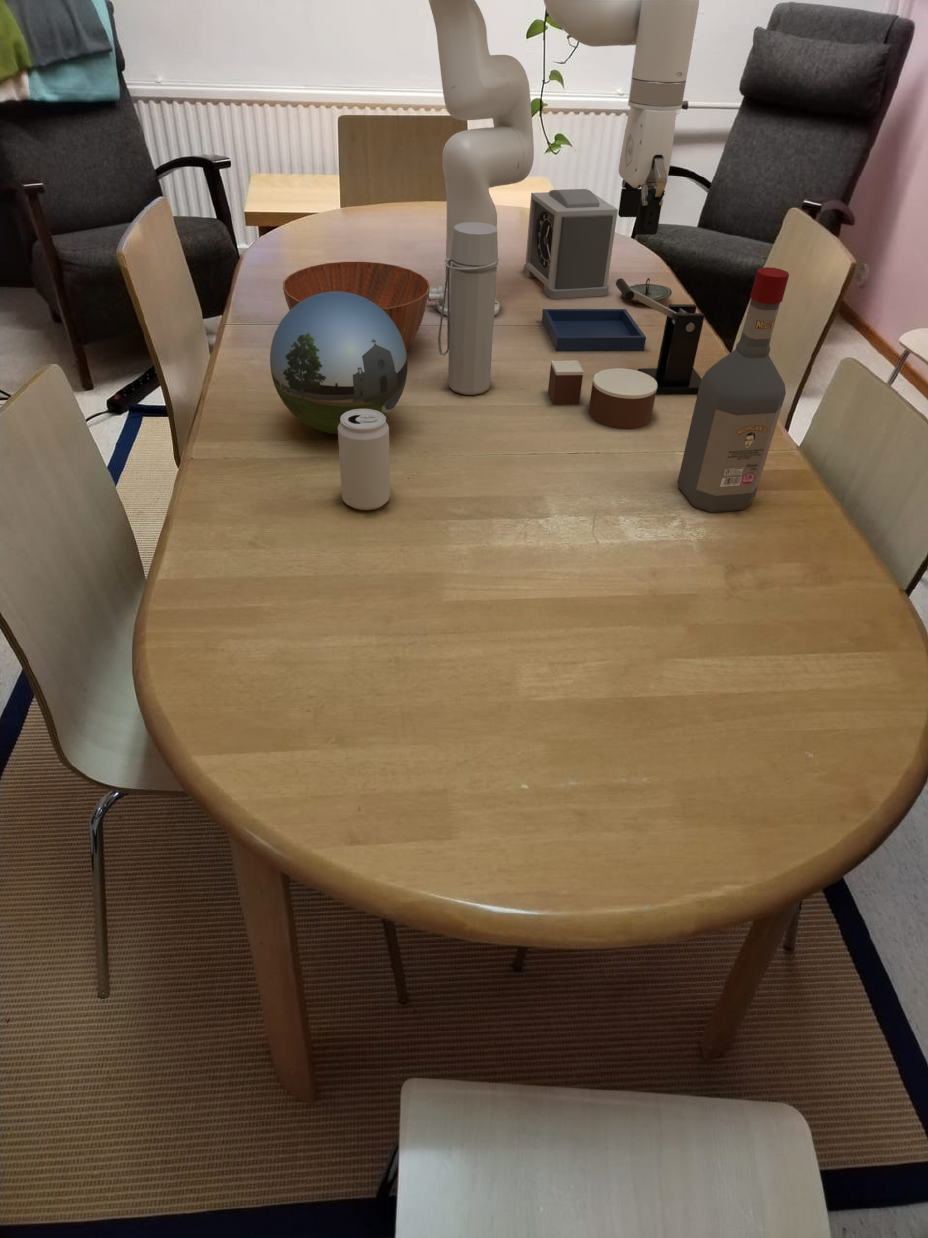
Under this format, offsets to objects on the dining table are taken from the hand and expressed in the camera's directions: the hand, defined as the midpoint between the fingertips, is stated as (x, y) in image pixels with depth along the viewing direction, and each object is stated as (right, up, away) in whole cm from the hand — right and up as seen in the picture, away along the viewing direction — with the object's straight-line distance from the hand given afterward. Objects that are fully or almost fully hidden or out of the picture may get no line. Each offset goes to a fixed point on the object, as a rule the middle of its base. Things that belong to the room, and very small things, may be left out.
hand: (636, 224), depth 129 cm
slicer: (+9, -20, +16) cm, 27 cm away
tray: (-2, -6, +32) cm, 33 cm away
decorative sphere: (-45, -31, -1) cm, 55 cm away
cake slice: (-10, -24, +10) cm, 28 cm away
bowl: (-45, -12, +23) cm, 52 cm away
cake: (-1, -27, +6) cm, 28 cm away
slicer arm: (+4, -11, +8) cm, 14 cm away
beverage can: (-39, -45, -16) cm, 62 cm away
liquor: (+8, -43, -12) cm, 46 cm away
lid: (+12, +6, +48) cm, 50 cm away
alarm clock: (-5, +13, +55) cm, 57 cm away
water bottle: (-27, -21, +12) cm, 36 cm away
